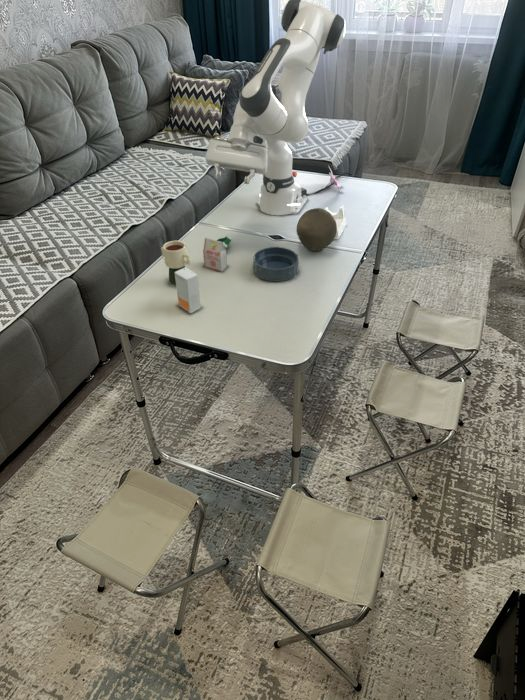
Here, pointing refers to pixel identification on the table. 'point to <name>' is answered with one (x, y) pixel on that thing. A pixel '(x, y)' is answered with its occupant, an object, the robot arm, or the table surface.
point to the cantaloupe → (316, 229)
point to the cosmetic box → (187, 290)
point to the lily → (333, 181)
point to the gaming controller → (225, 241)
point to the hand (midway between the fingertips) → (232, 180)
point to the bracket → (339, 221)
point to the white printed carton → (214, 255)
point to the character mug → (175, 257)
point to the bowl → (275, 263)
